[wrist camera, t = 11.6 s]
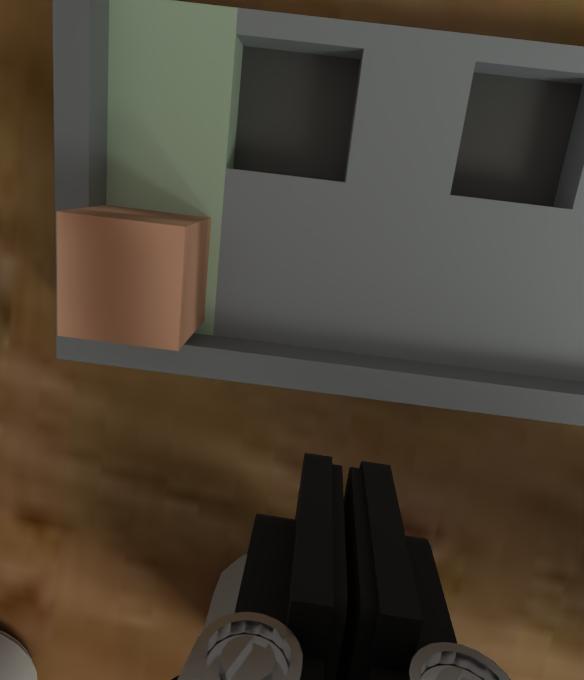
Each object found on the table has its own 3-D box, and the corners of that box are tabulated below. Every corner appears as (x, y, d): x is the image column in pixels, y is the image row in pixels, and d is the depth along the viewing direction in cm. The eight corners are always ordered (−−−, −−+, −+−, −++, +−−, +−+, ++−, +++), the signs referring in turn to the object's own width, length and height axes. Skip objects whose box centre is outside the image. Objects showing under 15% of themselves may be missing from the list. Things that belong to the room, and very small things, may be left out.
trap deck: (700, 75, 25) (779, 53, 21) (603, 397, 30) (651, 434, 25) (98, 6, 26) (52, -28, 21) (94, 333, 30) (56, 358, 26)
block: (211, 217, 26) (185, 227, 21) (204, 320, 27) (178, 351, 22) (106, 204, 26) (56, 211, 21) (104, 307, 27) (57, 335, 22)
